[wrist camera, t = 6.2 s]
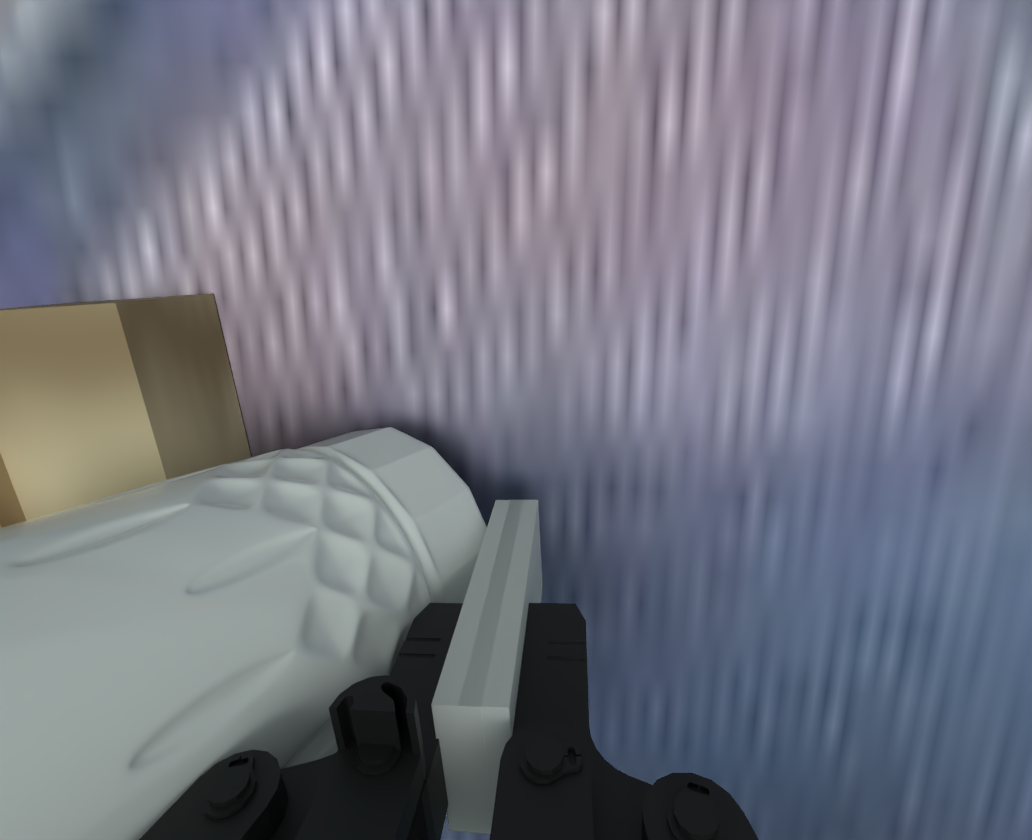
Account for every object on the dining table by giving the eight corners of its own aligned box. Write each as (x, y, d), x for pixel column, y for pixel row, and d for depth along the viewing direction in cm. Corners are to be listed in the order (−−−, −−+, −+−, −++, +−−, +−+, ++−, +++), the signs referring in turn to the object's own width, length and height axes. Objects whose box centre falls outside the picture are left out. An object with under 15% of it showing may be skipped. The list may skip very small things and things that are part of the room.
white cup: (563, 648, 13) (85, 1277, 5) (384, 654, 18) (-6, 980, 10) (439, 363, 13) (-273, 552, 5) (291, 447, 18) (-186, 610, 10)
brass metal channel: (307, 695, 20) (244, 804, 16) (185, 694, 20) (94, 799, 16) (213, 293, 15) (92, 305, 11) (59, 304, 16) (-107, 318, 12)
